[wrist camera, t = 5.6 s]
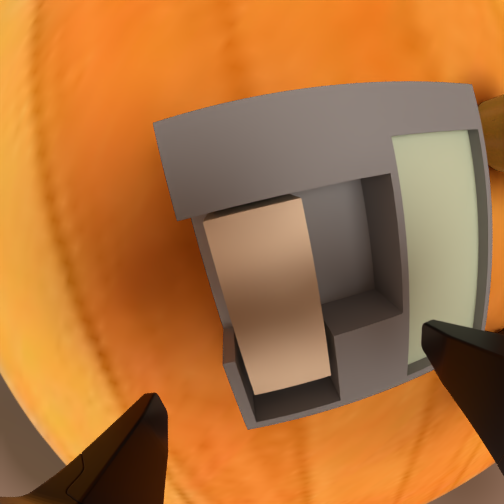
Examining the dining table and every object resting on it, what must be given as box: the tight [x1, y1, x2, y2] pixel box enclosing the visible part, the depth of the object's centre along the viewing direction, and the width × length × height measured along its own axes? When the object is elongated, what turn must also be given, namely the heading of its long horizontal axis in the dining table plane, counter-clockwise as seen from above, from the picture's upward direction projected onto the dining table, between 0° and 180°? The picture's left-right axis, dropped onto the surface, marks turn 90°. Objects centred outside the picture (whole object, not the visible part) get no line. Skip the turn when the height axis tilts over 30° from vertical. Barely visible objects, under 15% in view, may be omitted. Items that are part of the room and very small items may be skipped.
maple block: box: [203, 194, 331, 395], centre depth 15 cm, size 9×4×4 cm, turn 13°
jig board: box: [153, 81, 492, 430], centre depth 16 cm, size 16×16×6 cm
